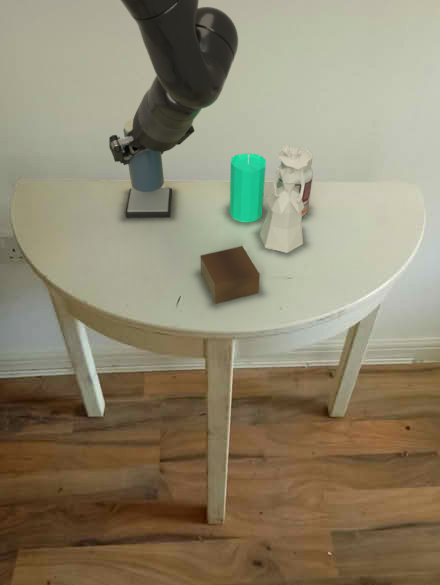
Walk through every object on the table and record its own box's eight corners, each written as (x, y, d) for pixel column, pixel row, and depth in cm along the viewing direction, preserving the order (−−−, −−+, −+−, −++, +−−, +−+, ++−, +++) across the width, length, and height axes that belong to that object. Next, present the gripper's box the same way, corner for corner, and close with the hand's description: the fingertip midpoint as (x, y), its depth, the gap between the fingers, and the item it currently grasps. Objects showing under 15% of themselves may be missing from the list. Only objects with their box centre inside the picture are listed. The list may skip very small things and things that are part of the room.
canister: (135, 194, 87) (127, 136, 80) (128, 177, 91) (119, 120, 83) (167, 188, 89) (162, 130, 81) (159, 171, 93) (153, 114, 85)
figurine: (269, 256, 83) (278, 159, 70) (255, 227, 89) (261, 132, 76) (309, 249, 84) (325, 153, 71) (293, 221, 90) (305, 127, 77)
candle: (224, 217, 90) (225, 158, 82) (236, 200, 94) (238, 141, 86) (256, 225, 89) (260, 165, 80) (266, 207, 93) (271, 148, 84)
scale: (125, 218, 90) (124, 211, 89) (130, 193, 96) (129, 186, 95) (170, 217, 90) (169, 211, 90) (172, 192, 96) (171, 186, 95)
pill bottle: (299, 198, 95) (306, 143, 87) (312, 216, 91) (322, 160, 83) (268, 203, 94) (273, 148, 86) (281, 222, 90) (287, 166, 82)
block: (215, 304, 75) (215, 285, 72) (200, 274, 80) (200, 255, 77) (258, 293, 77) (260, 274, 74) (241, 264, 82) (242, 245, 79)
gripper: (199, 81, 74) (169, 124, 90) (107, 102, 69) (93, 144, 85) (217, 129, 75) (184, 164, 90) (127, 154, 70) (109, 186, 85)
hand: (140, 154), depth 88 cm, fingers closed on canister, 6 cm apart
